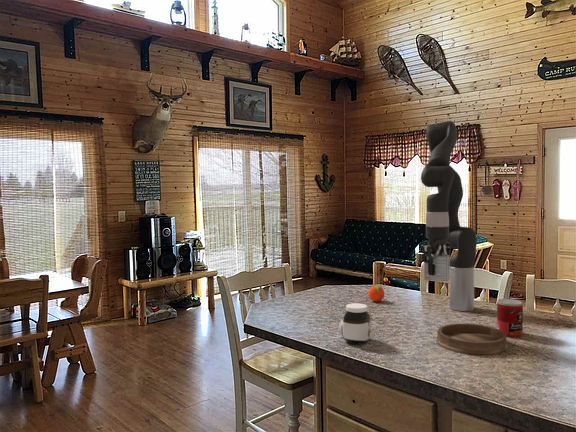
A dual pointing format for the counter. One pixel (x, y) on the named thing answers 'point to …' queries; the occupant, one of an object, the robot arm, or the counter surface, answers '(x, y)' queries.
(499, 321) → the canned food
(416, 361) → the counter surface
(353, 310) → the spread jar
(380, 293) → the clementine
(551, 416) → the counter surface
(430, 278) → the medicine box
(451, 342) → the round wooden tray
